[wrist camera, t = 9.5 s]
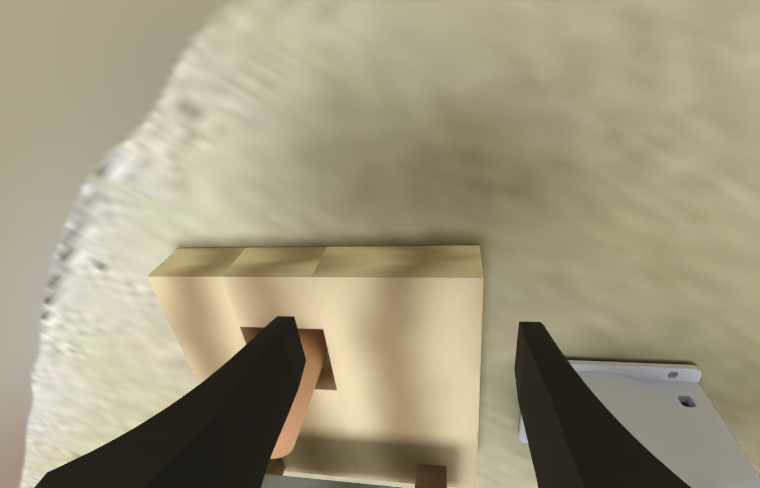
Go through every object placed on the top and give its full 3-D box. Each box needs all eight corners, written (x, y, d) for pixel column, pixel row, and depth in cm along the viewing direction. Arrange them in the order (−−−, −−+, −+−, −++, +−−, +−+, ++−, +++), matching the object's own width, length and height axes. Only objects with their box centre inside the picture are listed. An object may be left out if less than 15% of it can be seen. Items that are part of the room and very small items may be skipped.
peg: (331, 300, 25) (287, 412, 18) (338, 347, 27) (300, 463, 20) (271, 297, 26) (206, 403, 19) (281, 342, 28) (226, 453, 21)
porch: (479, 245, 21) (490, 338, 15) (474, 449, 30) (479, 557, 24) (178, 248, 25) (91, 326, 19) (254, 431, 34) (211, 523, 28)
